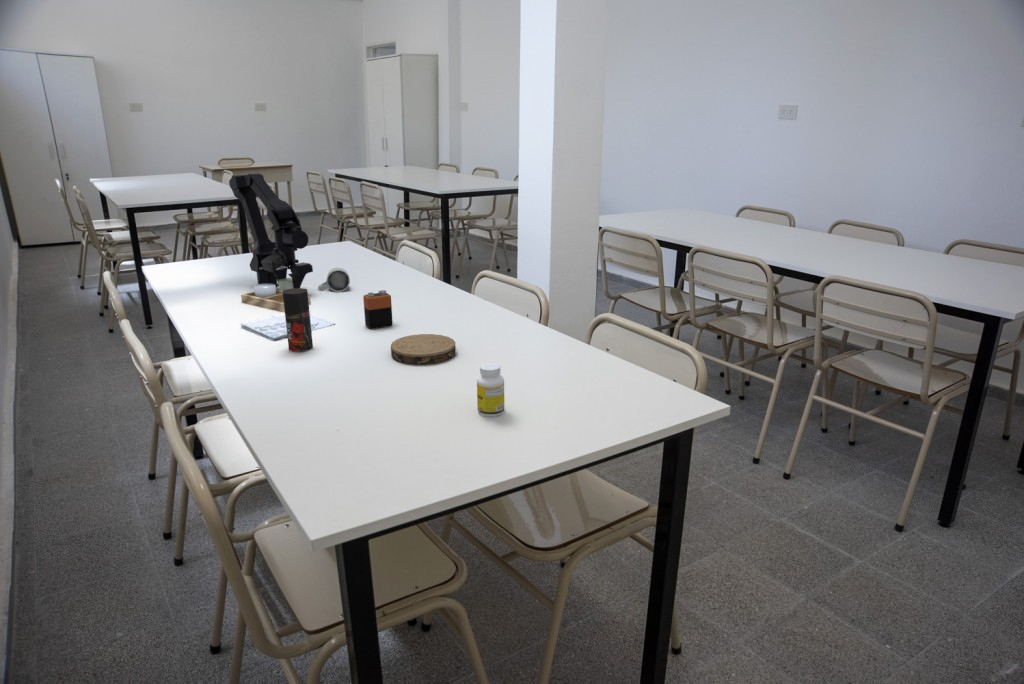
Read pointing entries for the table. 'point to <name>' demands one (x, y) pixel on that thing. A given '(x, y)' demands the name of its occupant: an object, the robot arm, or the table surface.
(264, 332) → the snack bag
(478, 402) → the supplement bottle
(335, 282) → the ceramic mug
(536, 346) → the table surface
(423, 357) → the wood slice coaster
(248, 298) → the divided wooden tray
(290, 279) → the sage green cylinder
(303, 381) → the table surface
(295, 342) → the deodorant
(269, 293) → the pale blue rounded cylinder
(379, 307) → the battery
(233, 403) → the table surface
